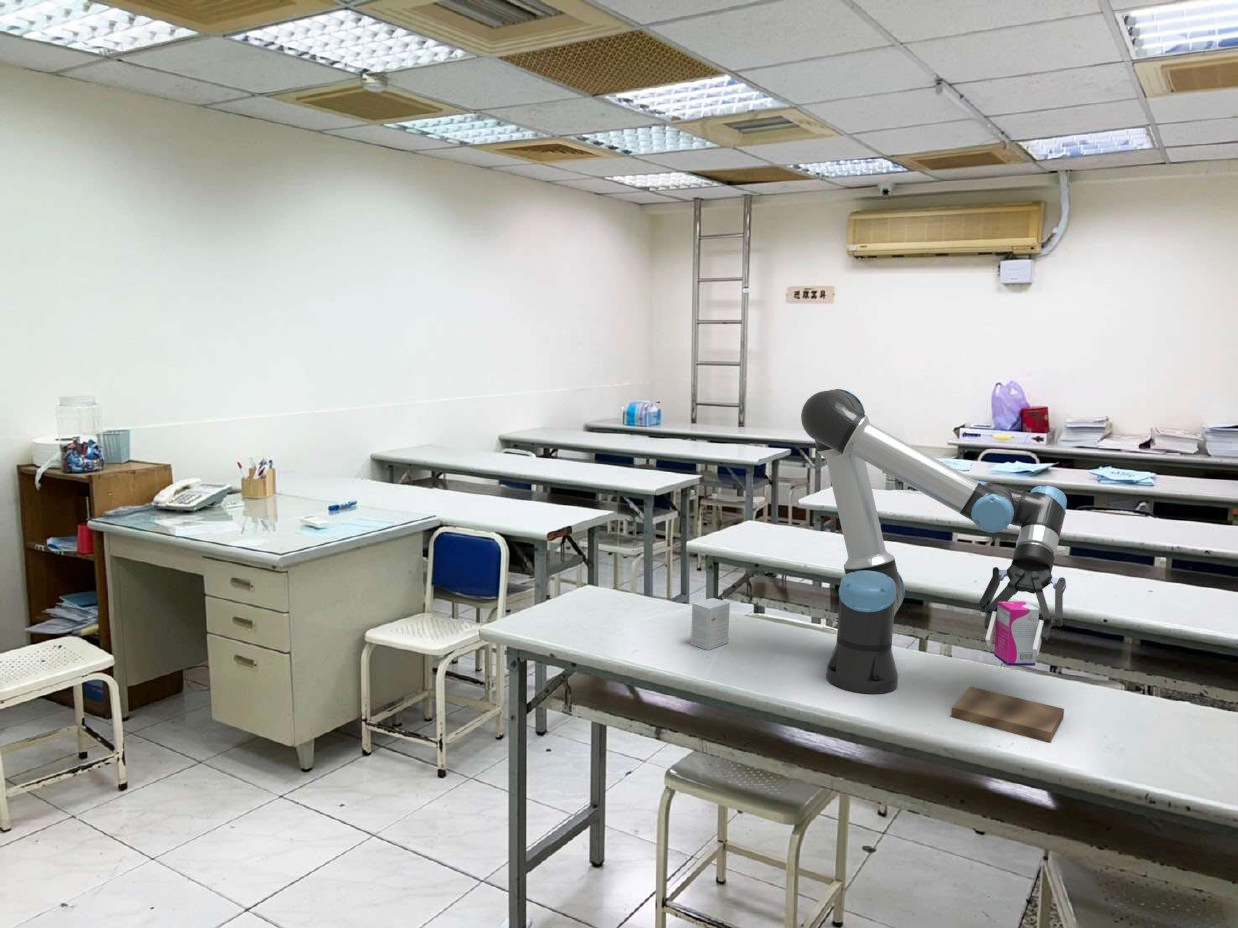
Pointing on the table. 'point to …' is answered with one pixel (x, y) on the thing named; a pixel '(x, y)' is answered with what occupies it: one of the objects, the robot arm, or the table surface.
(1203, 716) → the table surface
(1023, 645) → the supplement box
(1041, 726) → the brown flat block
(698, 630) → the small box
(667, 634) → the table surface
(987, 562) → the table surface
